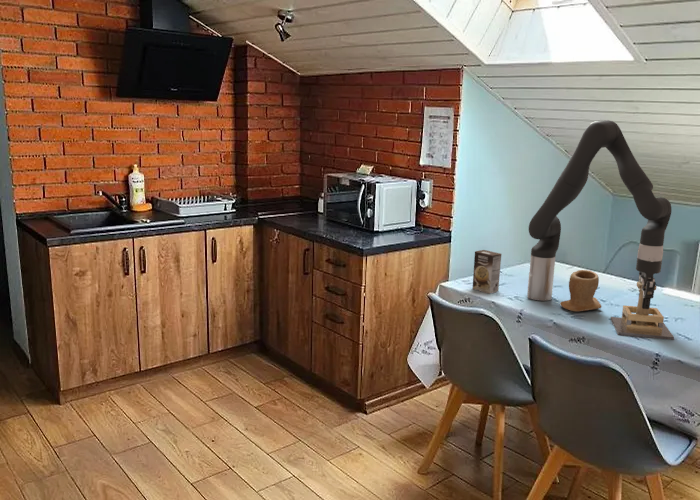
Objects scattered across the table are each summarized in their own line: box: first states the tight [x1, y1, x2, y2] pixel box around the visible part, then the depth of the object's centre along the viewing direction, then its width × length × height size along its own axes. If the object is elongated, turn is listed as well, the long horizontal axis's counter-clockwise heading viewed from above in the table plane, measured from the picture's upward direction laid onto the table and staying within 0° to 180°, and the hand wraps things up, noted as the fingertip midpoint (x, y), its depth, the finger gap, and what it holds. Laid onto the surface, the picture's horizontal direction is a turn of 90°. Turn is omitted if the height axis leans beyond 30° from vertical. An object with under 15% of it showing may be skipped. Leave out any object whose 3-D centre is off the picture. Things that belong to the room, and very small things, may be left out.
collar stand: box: [610, 305, 675, 341], centre depth 209 cm, size 17×16×6 cm
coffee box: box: [472, 249, 502, 295], centre depth 251 cm, size 9×6×16 cm
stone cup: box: [559, 269, 602, 312], centre depth 228 cm, size 15×12×15 cm
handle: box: [635, 281, 657, 325], centre depth 208 cm, size 5×6×15 cm
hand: (643, 305), depth 208 cm, fingers open, 5 cm apart
